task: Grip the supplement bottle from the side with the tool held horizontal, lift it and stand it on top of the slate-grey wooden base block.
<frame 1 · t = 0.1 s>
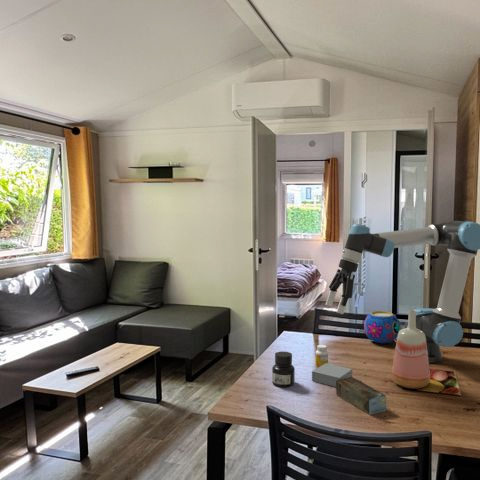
hand: (333, 309, 196), 28 cm above the table, tool tilted 20°, fingers open, 13 cm apart
ceramic pot: (381, 342, 244), on the table
beverage carton: (360, 403, 171), on the table
supplement bottle: (321, 368, 207), on the table
base block: (332, 379, 193), on the table
ink bottle: (283, 383, 189), on the table
vase: (410, 384, 187), on the table
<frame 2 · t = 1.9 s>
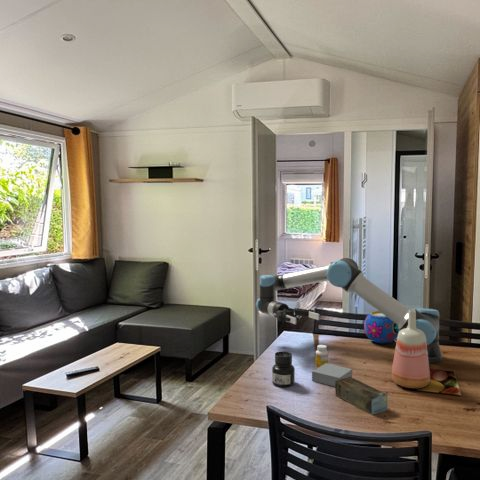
hand: (307, 319, 213), 20 cm above the table, tool horizontal, fingers open, 13 cm apart
nothing on the table moved.
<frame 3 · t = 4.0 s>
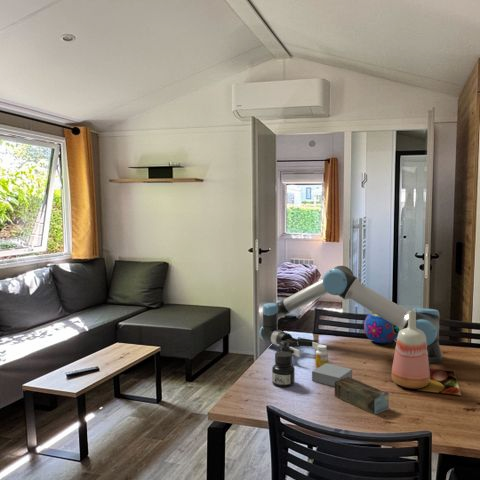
hand: (311, 351, 212), 6 cm above the table, tool horizontal, fingers open, 13 cm apart
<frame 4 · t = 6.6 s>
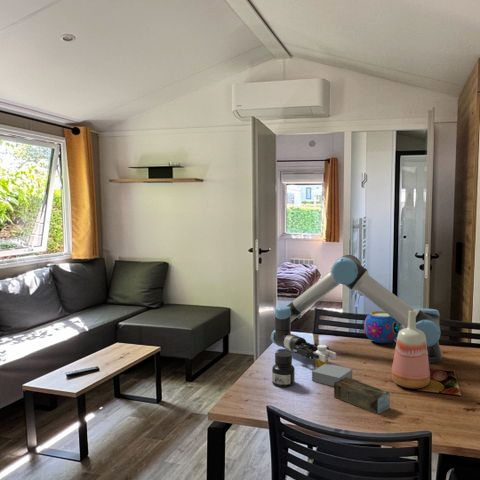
hand: (330, 357, 202), 6 cm above the table, tool horizontal, fingers closed on supplement bottle, 5 cm apart
supplement bottle: (321, 368, 207), on the table, touching gripper
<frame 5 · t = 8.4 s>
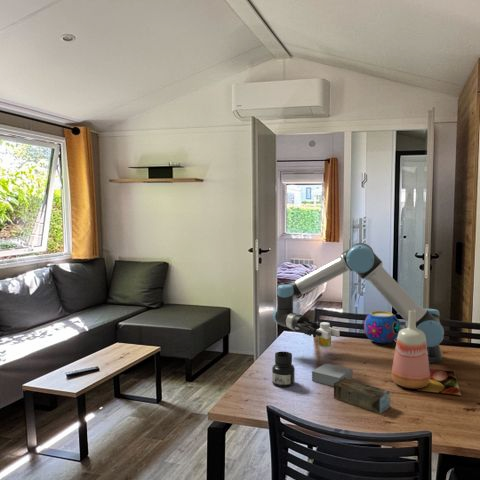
hand: (333, 334, 195), 18 cm above the table, tool horizontal, fingers closed on supplement bottle, 5 cm apart
supplement bottle: (324, 346, 200), point 12 cm above the table, touching gripper
when the fingers open (11 cm above the table, at t = 10.7 s): supplement bottle drops 1 cm, resting on base block.
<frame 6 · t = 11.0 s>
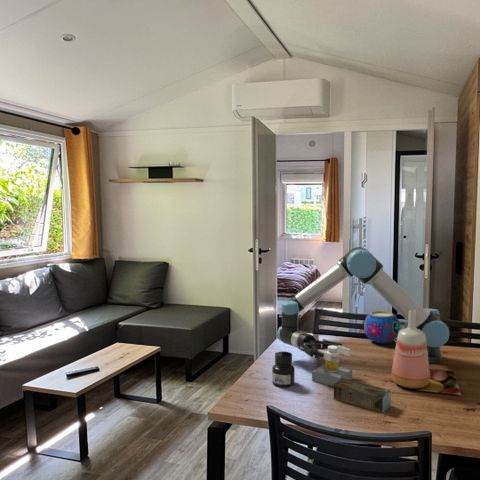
hand: (340, 355, 188), 11 cm above the table, tool horizontal, fingers open, 10 cm apart
supplement bottle: (332, 370, 192), point 4 cm above the table, touching base block
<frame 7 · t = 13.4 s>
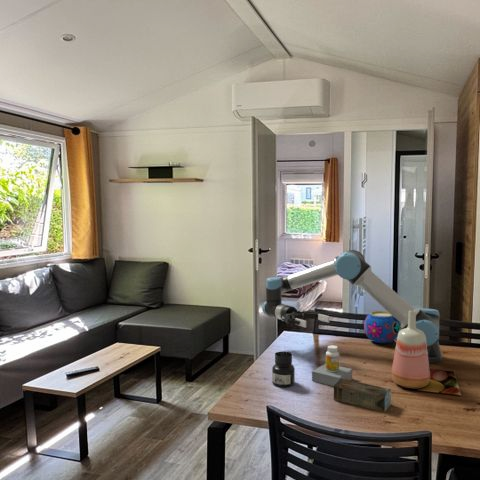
hand: (317, 321, 207), 20 cm above the table, tool horizontal, fingers open, 13 cm apart
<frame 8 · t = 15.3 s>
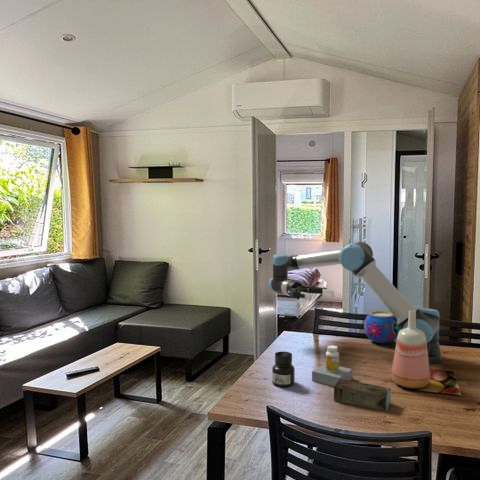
hand: (321, 295, 214), 30 cm above the table, tool horizontal, fingers open, 13 cm apart
at the end: supplement bottle 0.0 cm from the base block (horizontally); supplement bottle touching base block; supplement bottle tilted 0° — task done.
